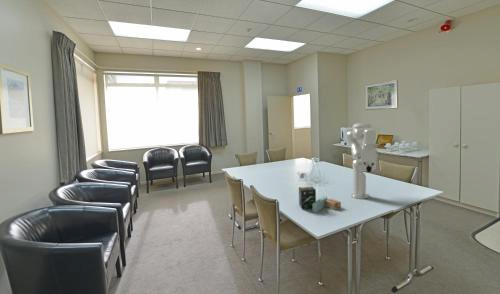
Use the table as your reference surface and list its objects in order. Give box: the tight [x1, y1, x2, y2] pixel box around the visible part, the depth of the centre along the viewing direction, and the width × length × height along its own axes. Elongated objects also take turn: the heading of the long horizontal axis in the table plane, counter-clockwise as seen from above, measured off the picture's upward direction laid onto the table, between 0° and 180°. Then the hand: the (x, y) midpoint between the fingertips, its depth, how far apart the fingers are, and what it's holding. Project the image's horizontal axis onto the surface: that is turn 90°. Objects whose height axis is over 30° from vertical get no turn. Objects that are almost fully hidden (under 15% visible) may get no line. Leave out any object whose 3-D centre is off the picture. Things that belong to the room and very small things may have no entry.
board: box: [312, 195, 328, 214], centre depth 181 cm, size 20×3×6 cm, turn 141°
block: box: [324, 198, 342, 211], centre depth 182 cm, size 7×9×5 cm
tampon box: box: [298, 186, 317, 210], centre depth 184 cm, size 11×9×15 cm
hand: (368, 171), depth 174 cm, fingers closed
